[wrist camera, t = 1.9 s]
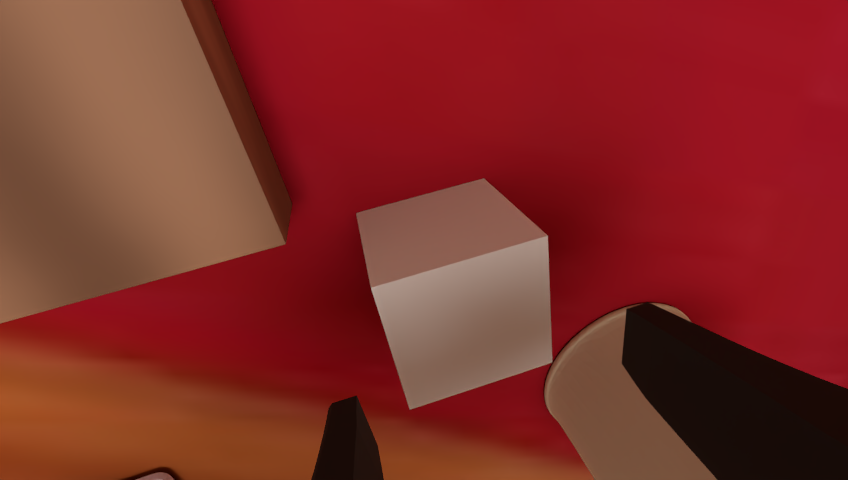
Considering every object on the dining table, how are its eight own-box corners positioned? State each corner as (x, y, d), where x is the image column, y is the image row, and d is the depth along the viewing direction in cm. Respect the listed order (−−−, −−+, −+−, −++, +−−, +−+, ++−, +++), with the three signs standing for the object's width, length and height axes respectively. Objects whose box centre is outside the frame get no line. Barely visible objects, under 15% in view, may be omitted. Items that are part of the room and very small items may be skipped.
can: (530, 435, 24) (693, 751, 13) (562, 311, 19) (839, 633, 9) (660, 411, 26) (889, 668, 15) (714, 293, 21) (1082, 539, 11)
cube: (387, 314, 17) (409, 409, 13) (355, 212, 15) (371, 287, 10) (495, 281, 18) (552, 362, 13) (483, 177, 15) (547, 235, 11)
